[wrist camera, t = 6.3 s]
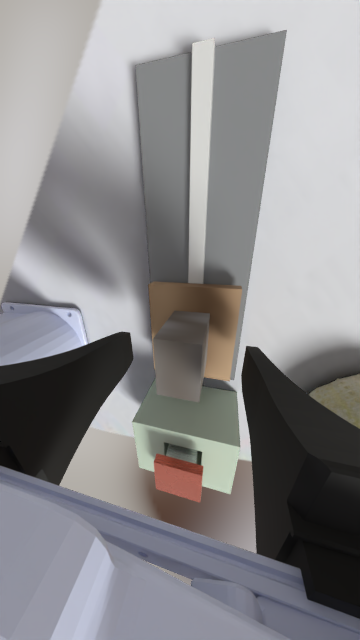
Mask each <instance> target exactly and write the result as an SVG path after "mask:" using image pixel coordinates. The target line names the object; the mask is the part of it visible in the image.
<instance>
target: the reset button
mask: <svg viewBox="0 0 360 640" xmlns="http://www.w3.org/2000/svg"><path fill="white" fill-rule="evenodd" d="M197 453H198V451H197V450H193V449H189V448H185V447H181V446H177V445H173V444H169V448H168V451H167V455H166V456H165V455H161V454H156V457H155V460H154V472H155V482H156V489H158V490H162V491H165V492H168V493H171V494H174V495H177V496H180V497H184V498H187V499H190V500H193V501H197V502H200V500H201V489H202V478H203V466H202V465H198V464H197Z"/></svg>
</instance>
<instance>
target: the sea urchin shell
mask: <svg viewBox="0 0 360 640" xmlns="http://www.w3.org/2000/svg"><path fill="white" fill-rule="evenodd" d="M308 395H309V396H311V397H312V398H313V399H315V400H316V401H317V402H319V403H320V404H322V405H323V406H325V407H326V408H328V409H329V410H331V411H332V412H334V413H335V414H337V415H338V416H340V417H341V418H343V419H344V420H346V421H348V422H349V423H351V424H353V425H354V426H356V427H358V428H359V429H360V373H359V374H358V375H353V376H349V377H345V378H342V379H338V378H337V379H336V380H335V381H334V382H331V383H329V384H326V385H323V386H321V387H317V388H315V390H313V391H312V392H311V393H310V394H308Z"/></svg>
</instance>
